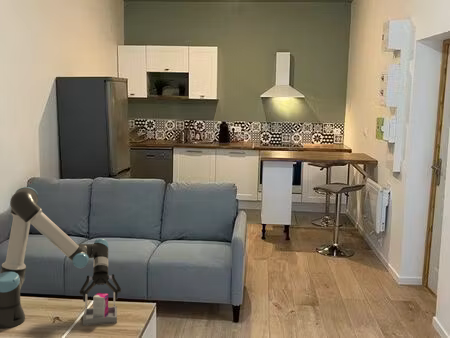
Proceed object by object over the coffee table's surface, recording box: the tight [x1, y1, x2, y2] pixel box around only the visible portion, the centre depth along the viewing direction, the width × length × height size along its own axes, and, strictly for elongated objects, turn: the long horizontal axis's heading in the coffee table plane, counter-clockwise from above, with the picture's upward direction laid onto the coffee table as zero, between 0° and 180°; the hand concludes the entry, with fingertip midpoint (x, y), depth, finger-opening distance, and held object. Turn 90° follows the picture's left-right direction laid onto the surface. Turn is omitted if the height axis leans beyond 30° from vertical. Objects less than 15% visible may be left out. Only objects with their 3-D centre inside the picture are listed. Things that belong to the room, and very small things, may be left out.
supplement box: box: [92, 292, 109, 318], centre depth 241 cm, size 6×6×12 cm
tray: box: [82, 305, 118, 327], centre depth 241 cm, size 16×13×3 cm
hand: (100, 306), depth 239 cm, fingers open, 13 cm apart
